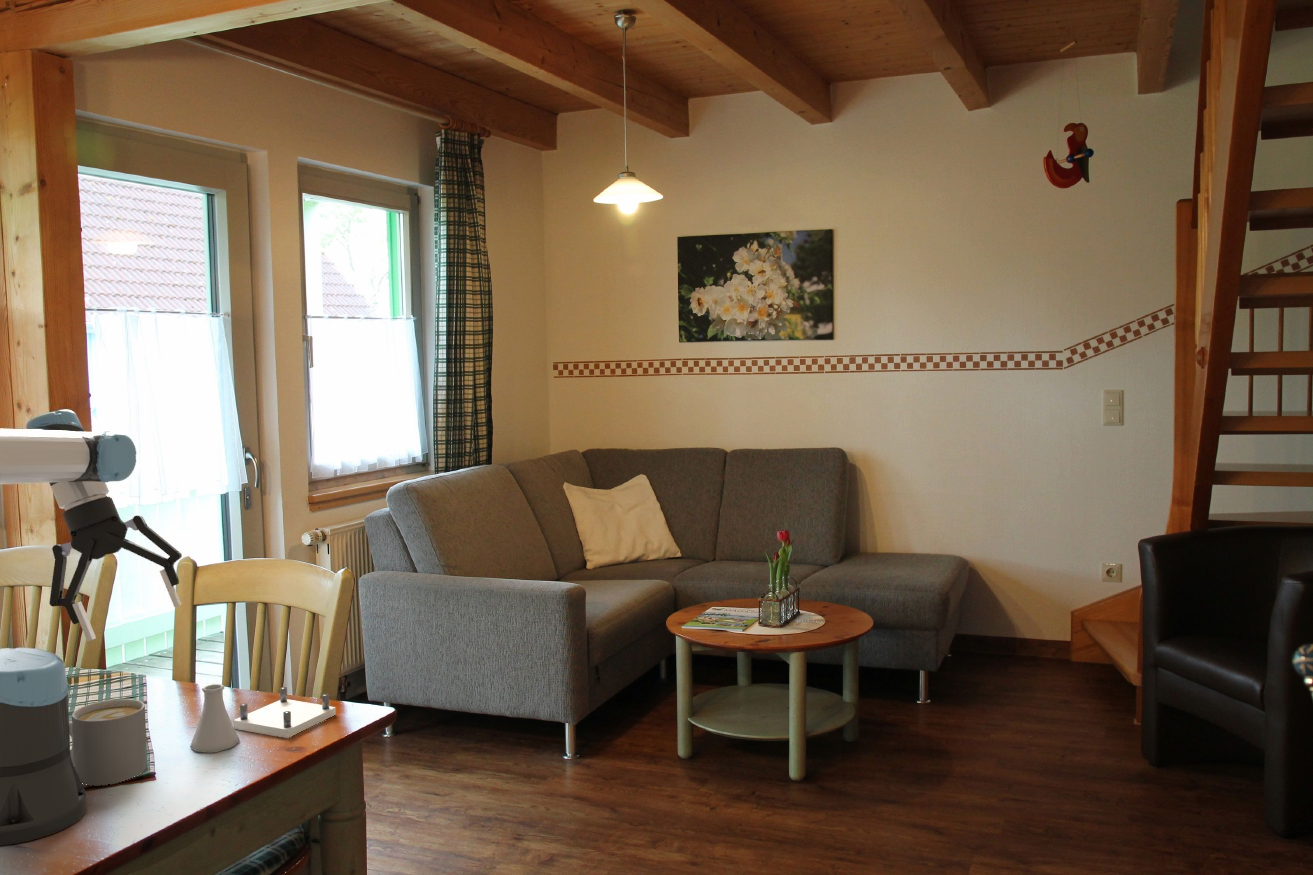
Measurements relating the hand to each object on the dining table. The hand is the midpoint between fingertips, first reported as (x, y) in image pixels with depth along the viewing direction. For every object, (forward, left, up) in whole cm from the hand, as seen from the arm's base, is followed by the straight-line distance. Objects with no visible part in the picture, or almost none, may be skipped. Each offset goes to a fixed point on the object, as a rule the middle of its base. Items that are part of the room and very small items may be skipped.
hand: (135, 622), depth 167 cm
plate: (+17, -15, -21) cm, 31 cm away
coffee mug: (-11, -4, -21) cm, 24 cm away
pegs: (+17, -15, -19) cm, 30 cm away
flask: (+4, -12, -21) cm, 24 cm away
